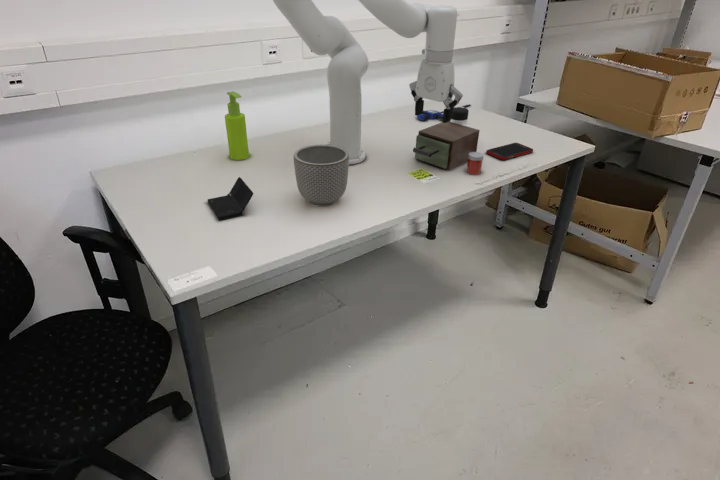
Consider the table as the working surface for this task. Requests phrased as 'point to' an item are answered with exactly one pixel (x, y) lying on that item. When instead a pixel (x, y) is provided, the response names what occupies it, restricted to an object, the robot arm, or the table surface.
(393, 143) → the table surface
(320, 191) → the planter
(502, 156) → the cell phone
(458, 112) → the medicine bottle
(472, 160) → the shaker
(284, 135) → the table surface
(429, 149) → the drawer
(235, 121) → the soap dispenser
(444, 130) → the cabinet
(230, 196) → the handheld gaming console
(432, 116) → the bar clamp
